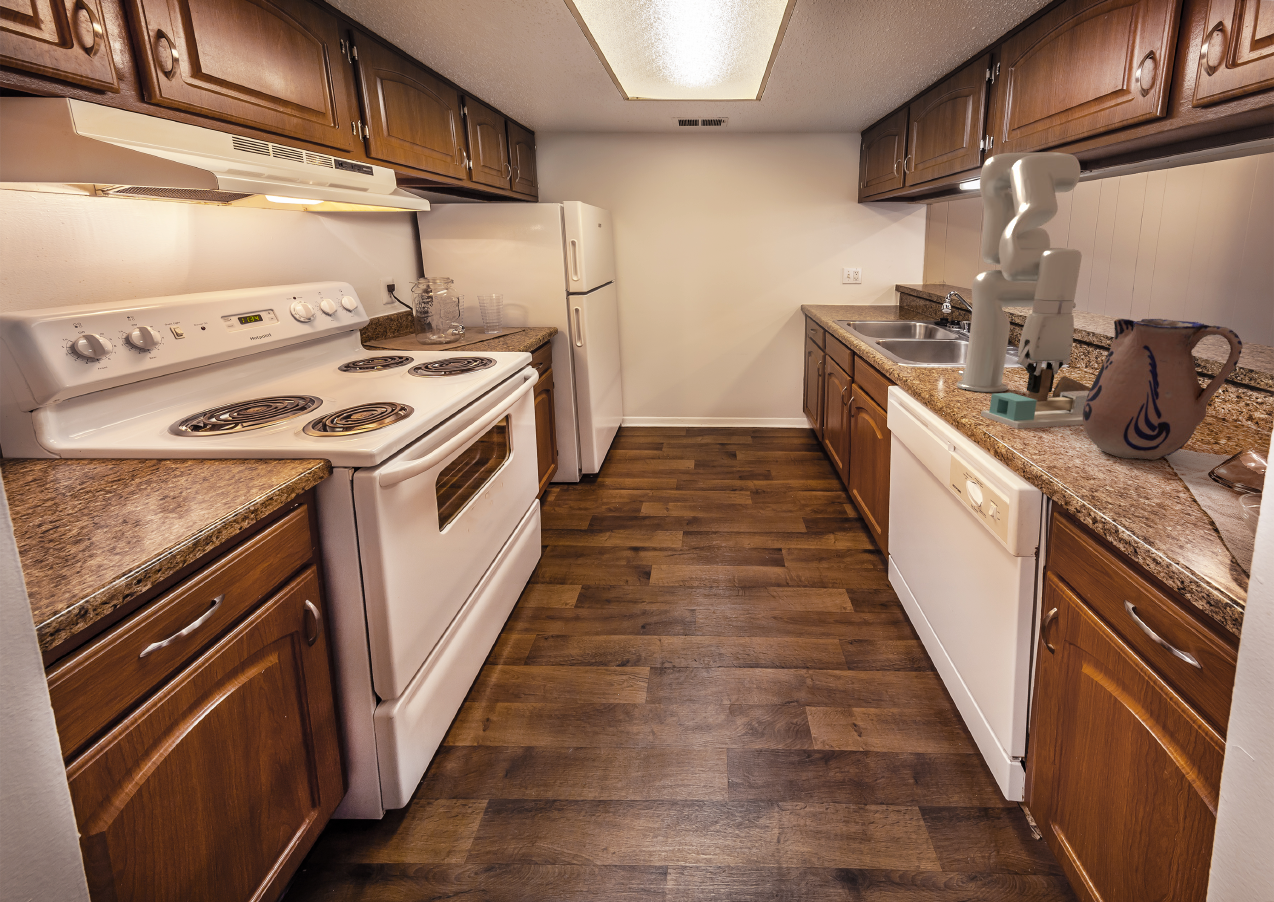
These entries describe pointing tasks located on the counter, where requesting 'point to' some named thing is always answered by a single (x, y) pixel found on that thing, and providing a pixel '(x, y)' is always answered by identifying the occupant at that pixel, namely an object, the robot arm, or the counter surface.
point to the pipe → (1068, 386)
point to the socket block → (1012, 406)
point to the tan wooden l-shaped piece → (1042, 396)
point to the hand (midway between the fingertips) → (1039, 390)
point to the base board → (1039, 419)
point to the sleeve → (1075, 401)
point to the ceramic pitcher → (1152, 388)
